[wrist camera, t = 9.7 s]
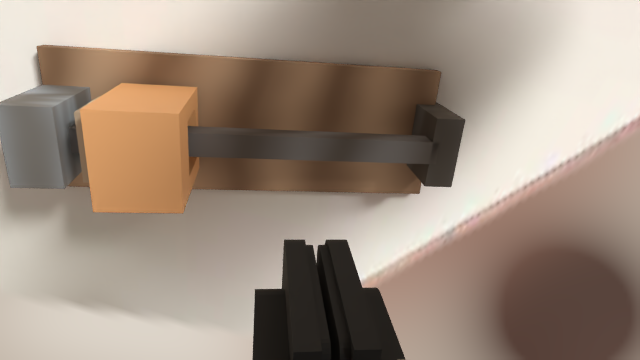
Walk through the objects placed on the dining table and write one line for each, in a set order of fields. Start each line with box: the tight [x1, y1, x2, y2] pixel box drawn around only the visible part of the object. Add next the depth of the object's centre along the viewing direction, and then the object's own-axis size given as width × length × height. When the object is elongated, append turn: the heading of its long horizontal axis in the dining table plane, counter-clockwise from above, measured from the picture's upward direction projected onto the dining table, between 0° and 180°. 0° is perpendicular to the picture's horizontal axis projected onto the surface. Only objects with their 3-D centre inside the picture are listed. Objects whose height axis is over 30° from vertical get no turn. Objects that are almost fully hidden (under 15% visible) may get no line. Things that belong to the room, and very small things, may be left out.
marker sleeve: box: [80, 83, 199, 213], centre depth 28 cm, size 5×6×8 cm
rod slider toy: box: [0, 45, 465, 194], centre depth 31 cm, size 28×10×7 cm, turn 86°
